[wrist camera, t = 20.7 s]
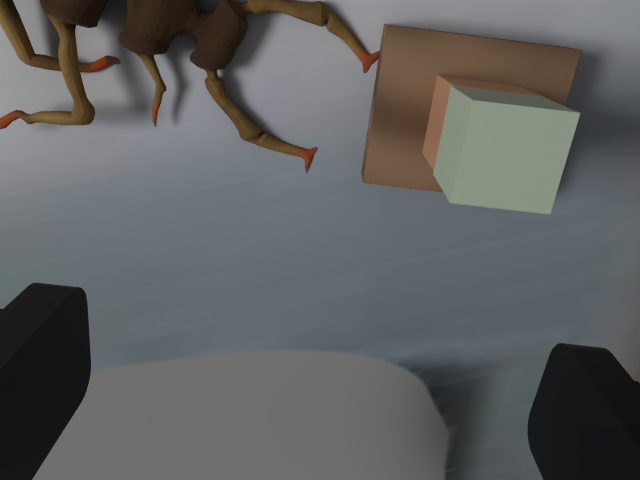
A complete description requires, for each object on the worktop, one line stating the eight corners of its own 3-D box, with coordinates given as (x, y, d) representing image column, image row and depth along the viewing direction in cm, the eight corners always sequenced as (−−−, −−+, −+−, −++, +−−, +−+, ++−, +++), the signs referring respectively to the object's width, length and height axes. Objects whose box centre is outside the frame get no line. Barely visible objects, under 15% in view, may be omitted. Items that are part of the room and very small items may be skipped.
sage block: (450, 85, 29) (472, 99, 25) (541, 96, 29) (580, 112, 25) (433, 174, 31) (450, 202, 27) (518, 184, 31) (550, 214, 27)
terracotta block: (437, 74, 34) (453, 85, 29) (516, 84, 34) (544, 96, 29) (422, 152, 36) (435, 174, 31) (496, 162, 36) (520, 184, 31)
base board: (383, 24, 35) (387, 25, 33) (565, 47, 35) (581, 50, 33) (361, 172, 39) (363, 182, 37) (525, 191, 39) (536, 203, 37)
